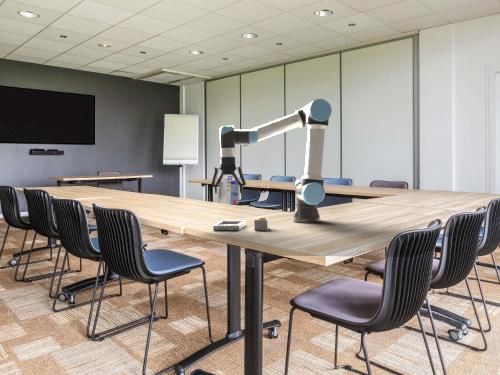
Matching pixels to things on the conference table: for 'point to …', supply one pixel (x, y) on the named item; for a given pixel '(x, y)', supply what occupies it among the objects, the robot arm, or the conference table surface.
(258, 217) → the plunger
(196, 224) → the conference table surface
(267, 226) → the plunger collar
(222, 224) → the tray
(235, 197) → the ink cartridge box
